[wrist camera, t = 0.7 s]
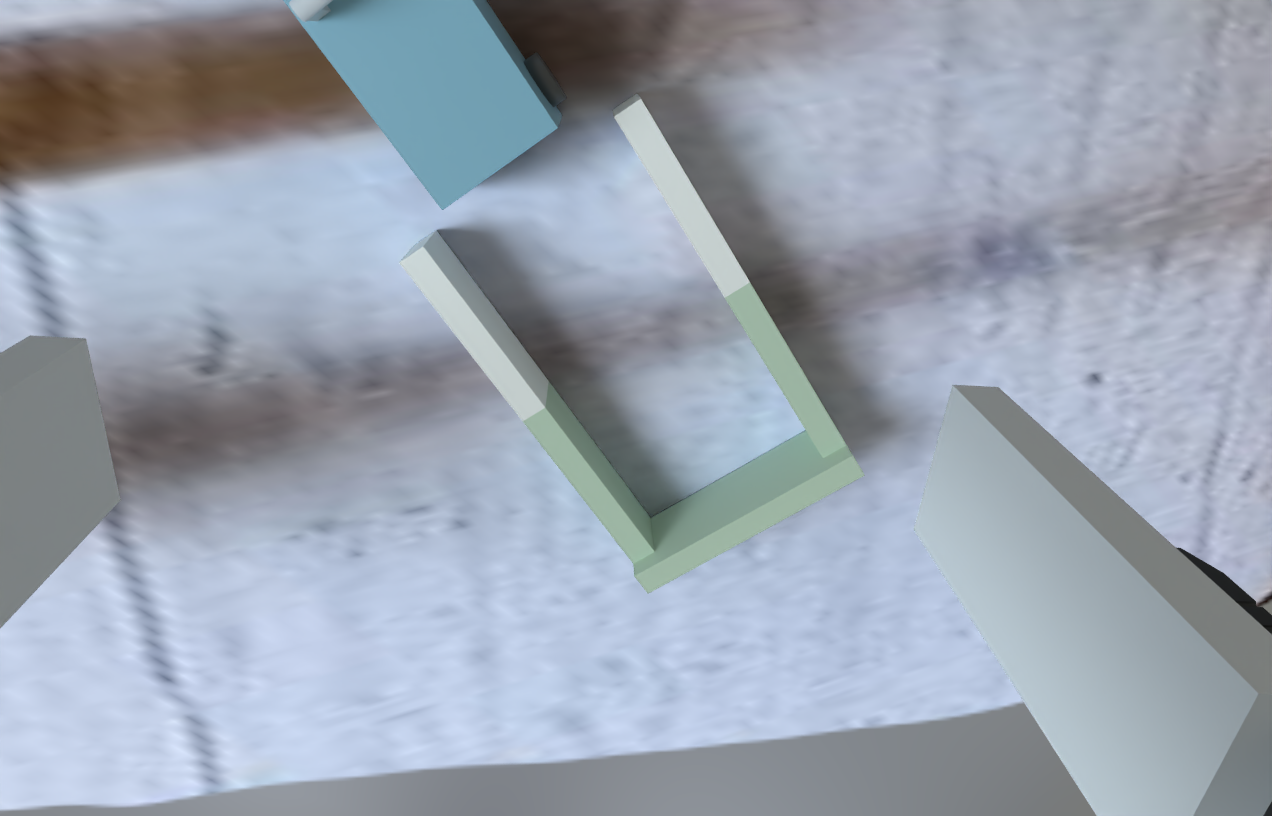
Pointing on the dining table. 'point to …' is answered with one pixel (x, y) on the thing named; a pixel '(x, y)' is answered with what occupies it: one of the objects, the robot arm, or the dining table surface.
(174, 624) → the dining table surface
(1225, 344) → the dining table surface
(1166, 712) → the robot arm
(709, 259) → the frame
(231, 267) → the dining table surface
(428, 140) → the blue handled block
